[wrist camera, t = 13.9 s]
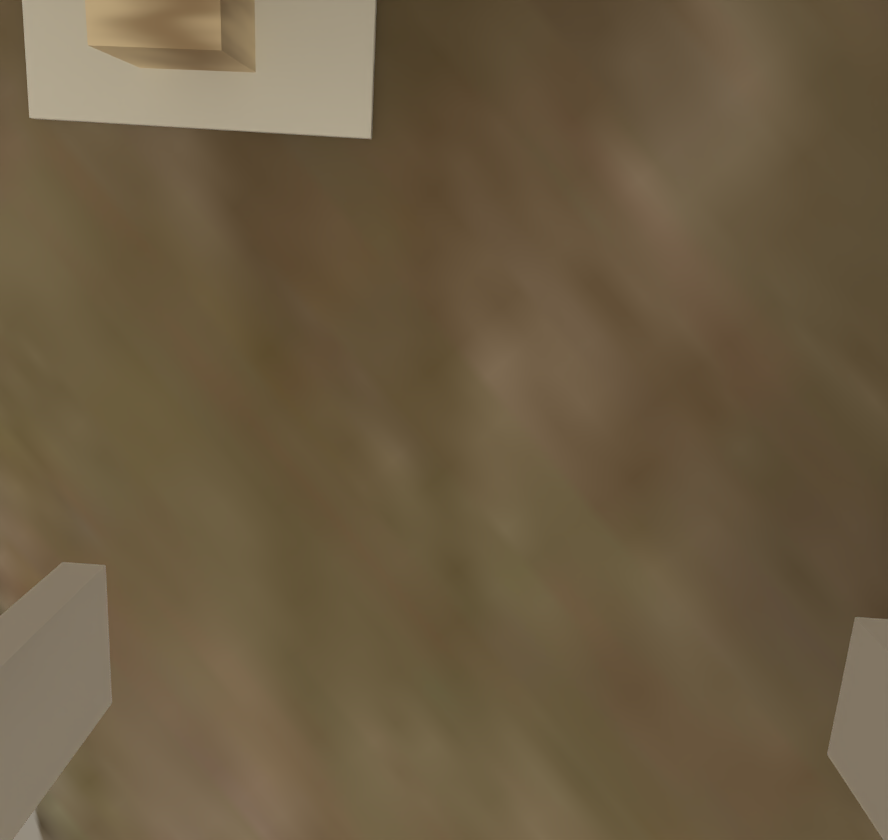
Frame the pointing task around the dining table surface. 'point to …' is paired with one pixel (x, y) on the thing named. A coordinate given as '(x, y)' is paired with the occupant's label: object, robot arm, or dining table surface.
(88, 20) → the oak block
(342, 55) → the felt mat
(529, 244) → the dining table surface
